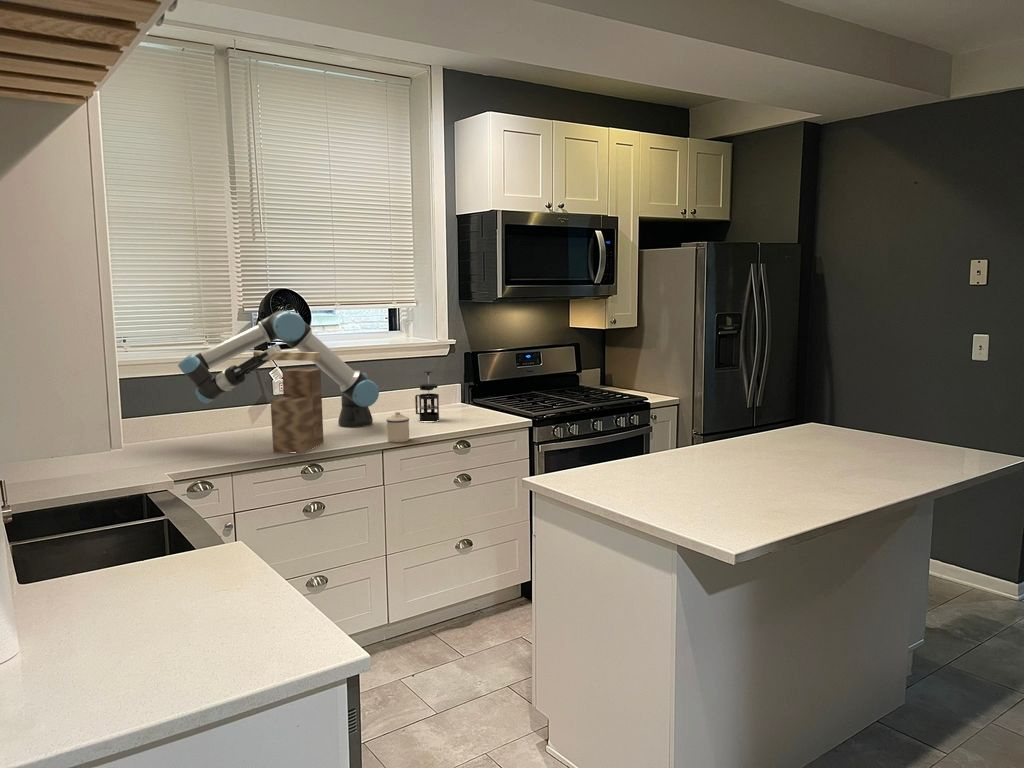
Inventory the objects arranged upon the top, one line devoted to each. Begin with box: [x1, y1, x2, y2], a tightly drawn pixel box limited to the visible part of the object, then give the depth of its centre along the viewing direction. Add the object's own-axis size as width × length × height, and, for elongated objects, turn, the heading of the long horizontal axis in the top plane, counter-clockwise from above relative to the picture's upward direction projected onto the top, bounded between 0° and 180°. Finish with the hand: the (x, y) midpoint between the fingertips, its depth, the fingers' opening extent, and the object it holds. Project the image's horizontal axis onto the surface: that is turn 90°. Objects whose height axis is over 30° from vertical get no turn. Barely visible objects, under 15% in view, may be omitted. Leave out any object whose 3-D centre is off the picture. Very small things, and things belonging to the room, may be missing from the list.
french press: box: [414, 370, 440, 422], centre depth 343 cm, size 12×9×23 cm
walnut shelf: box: [270, 367, 325, 454], centre depth 289 cm, size 12×18×30 cm, turn 169°
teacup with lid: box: [385, 411, 410, 443], centre depth 304 cm, size 12×9×12 cm
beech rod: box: [252, 350, 320, 362], centre depth 287 cm, size 26×3×3 cm, turn 78°
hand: (277, 348), depth 288 cm, fingers closed on beech rod, 3 cm apart
